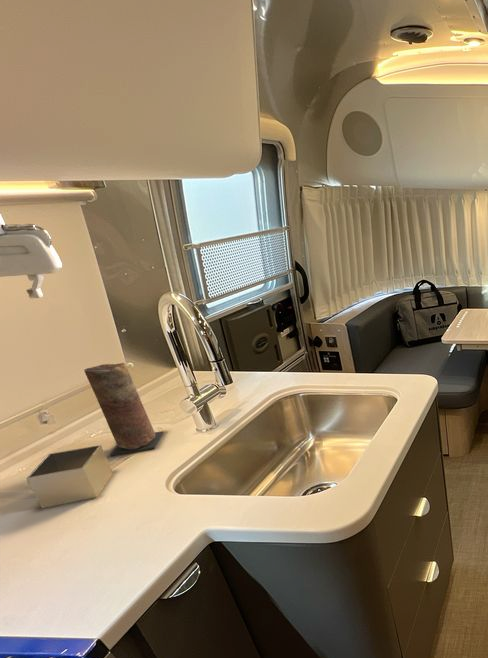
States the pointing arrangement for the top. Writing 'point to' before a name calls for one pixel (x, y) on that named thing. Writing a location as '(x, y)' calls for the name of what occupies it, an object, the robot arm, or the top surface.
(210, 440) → the top surface
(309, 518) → the top surface
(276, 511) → the top surface
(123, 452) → the mat
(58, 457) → the beige open box
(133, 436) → the candle
